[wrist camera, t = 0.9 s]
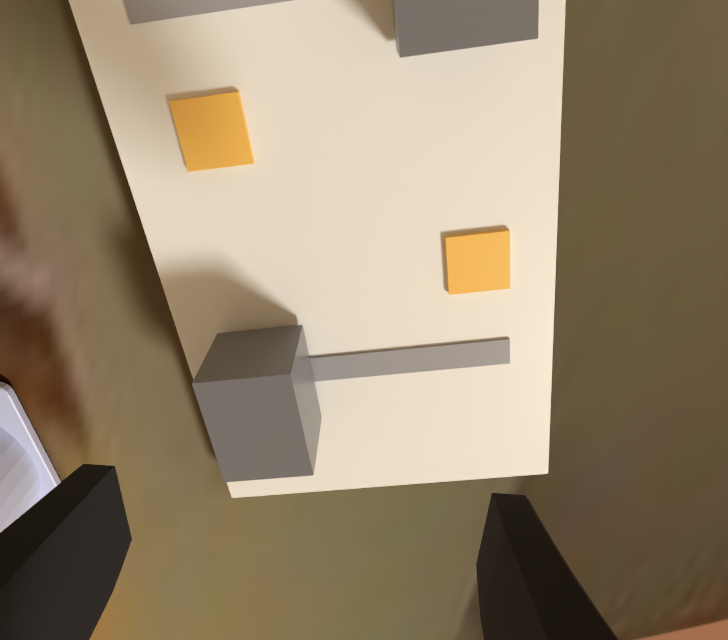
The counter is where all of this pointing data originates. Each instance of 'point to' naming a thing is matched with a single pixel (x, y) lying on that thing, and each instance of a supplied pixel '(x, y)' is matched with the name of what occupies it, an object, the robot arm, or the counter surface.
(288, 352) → the switch
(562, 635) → the robot arm
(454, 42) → the switch
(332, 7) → the switch console
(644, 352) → the counter surface
